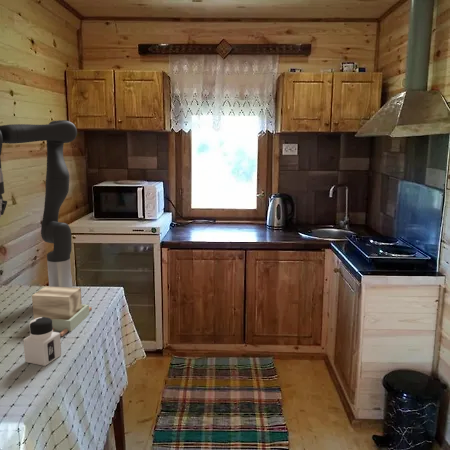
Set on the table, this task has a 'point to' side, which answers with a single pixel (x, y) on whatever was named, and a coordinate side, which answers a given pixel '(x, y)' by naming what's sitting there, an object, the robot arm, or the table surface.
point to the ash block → (57, 302)
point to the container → (42, 342)
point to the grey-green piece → (70, 321)
